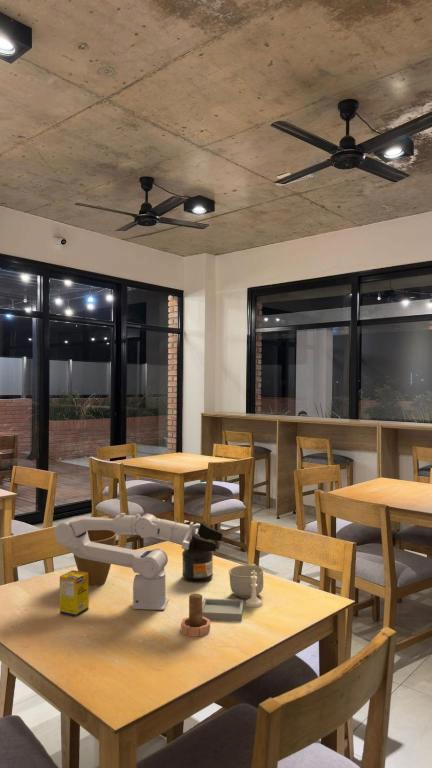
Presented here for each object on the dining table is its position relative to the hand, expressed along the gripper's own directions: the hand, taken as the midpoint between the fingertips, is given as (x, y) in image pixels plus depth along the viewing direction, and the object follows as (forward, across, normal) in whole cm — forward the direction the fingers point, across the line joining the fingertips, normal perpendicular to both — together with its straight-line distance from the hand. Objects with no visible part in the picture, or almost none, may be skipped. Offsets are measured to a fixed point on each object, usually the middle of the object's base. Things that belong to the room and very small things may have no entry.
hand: (219, 542), depth 159 cm
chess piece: (+12, +5, +19) cm, 23 cm away
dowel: (0, -16, +19) cm, 24 cm away
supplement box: (-38, -13, +25) cm, 47 cm away
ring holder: (0, -16, +19) cm, 24 cm away
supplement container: (-10, +22, +25) cm, 35 cm away
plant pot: (-42, +10, +29) cm, 52 cm away
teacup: (+9, +13, +21) cm, 26 cm away
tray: (+4, -3, +20) cm, 20 cm away
